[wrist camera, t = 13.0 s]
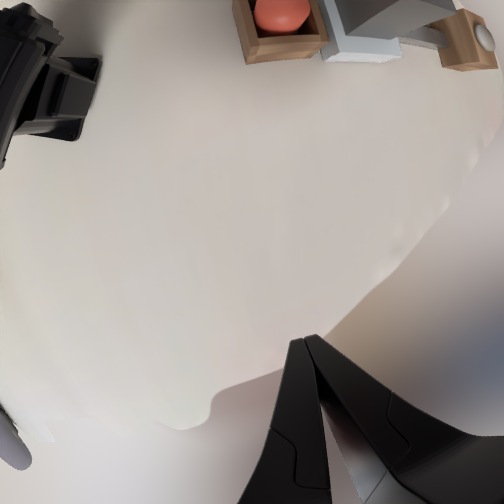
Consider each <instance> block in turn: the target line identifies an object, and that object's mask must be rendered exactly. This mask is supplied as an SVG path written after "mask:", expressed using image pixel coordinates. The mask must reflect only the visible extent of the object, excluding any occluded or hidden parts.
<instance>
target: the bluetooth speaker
mask: <svg viewBox="0 0 504 504" xmlns="http://www.w3.org/2000/svg"><path fill="white" fill-rule="evenodd" d="M0 457H1V458H2V459H3V460H4V461H6V462H7V463H8V464H9V465H11V466H12V467H14V468H15V469H17V470H25V469H27V468H28V467H29V466H30V465H31V463H32V457H31V453H30V452H29V450H28V448H27V447H26V445H25V444H24V443H23V441H22V440H21V439H20V437H19V436H18V430H17V429H16V427H15V426H14V424H13V423H12V422H11V421H10V419H9V418H8V417H7V415H6V414H5V413H4V412H3V410H1V409H0Z"/></svg>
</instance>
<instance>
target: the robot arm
mask: <svg viewBox="0 0 504 504" xmlns="http://www.w3.org/2000/svg"><path fill="white" fill-rule="evenodd" d="M58 32H59V31H58V30H56V29H55V28H53V21H51V20H49V19H48V18H46V17H44V16H42V15H40V14H39V13H38V12H37V11H36V10H35V9H34V8H33V7H32V6H31V5H29V4H27V3H23V2H22V3H20V4H18V5H16V6H14V7H12V8H10V9H8V8H3V9H2V11H1V10H0V170H1V169H2V168H3V167H4V164H5V161H6V159H5V156H6V153H7V150H8V147H9V144H10V141H11V138H12V136H15V135H24V134H28V135H35V136H41V137H48V138H54V139H60V140H65V141H77V140H78V139H79V137H80V134H81V130H82V126H83V122H84V118H85V117H86V115H87V112H88V109H89V105H90V102H91V99H92V95H93V92H94V89H95V86H96V84H95V82H96V79H97V76H98V73H99V70H100V68H101V64H102V63H101V61H100V60H99V59H97V58H75V57H58V58H57V57H54V56H51V55H52V53H53V51H54V50H55V48H56V47H57V45H59V44H60V43H61V41H62V40H63V38H64V37H62V36H60V35H58ZM94 63H96V66H95V67H93V64H94ZM73 132H75V137H74V138H73V136H72V134H73ZM391 392H392V391H391V390H390V389H389V388H387V387H386V386H385V385H383V384H382V383H381V382H379V381H378V380H377V379H375V378H374V377H373V376H371V375H370V374H369V373H367V372H366V371H365V370H363V369H362V368H361V367H359V366H358V365H357V364H355V363H354V362H352V361H351V360H350V359H349V358H347V357H346V356H345V355H343V354H342V353H341V352H339V351H338V350H337V349H335V348H334V347H333V346H332V345H330V344H329V343H328V342H326V341H325V340H324V339H322V338H321V337H320V336H318V335H317V334H314V335H310V336H306V337H304V339H303V338H298V339H295V340H291V341H290V343H289V348H288V353H287V357H286V361H285V366H284V370H283V374H282V379H281V383H280V387H279V391H278V395H277V399H276V403H275V408H274V411H273V415H272V419H271V423H270V427H269V428H270V429H269V430H268V433H267V437H266V440H265V443H264V447H263V450H262V452H261V455H260V458H259V460H258V462H257V465H256V467H255V470H254V472H253V474H252V476H251V478H250V480H249V482H248V484H247V486H246V488H245V489H244V491H243V493H242V495H241V497H240V499H239V501H238V503H237V504H332V498H331V497H332V496H331V485H330V476H329V467H328V458H327V449H326V441H325V433H324V426H323V419H322V412H321V409H322V411H323V413H324V416H325V418H326V420H327V423H328V425H329V427H330V430H331V432H332V434H333V437H334V439H335V441H336V443H337V446H338V448H339V451H340V453H341V455H342V458H343V460H344V462H345V464H346V467H347V469H348V471H349V474H350V476H351V478H352V481H353V483H354V485H355V488H356V490H357V492H358V495H359V497H360V499H361V502H362V504H504V436H476V435H471V434H468V433H465V432H463V431H461V430H459V429H456V428H455V427H452V426H450V425H448V424H446V423H444V422H442V421H440V420H439V419H436V418H435V417H433V416H431V415H429V414H427V413H425V412H423V411H422V410H420V409H418V408H416V407H415V406H413V405H412V404H410V403H409V402H407V401H406V400H404V399H403V398H401V397H400V396H399V395H397V394H396V393H395V392H392V393H391Z"/></svg>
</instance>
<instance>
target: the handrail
mask: <svg viewBox="0 0 504 504" xmlns="http://www.w3.org/2000/svg"><path fill="white" fill-rule="evenodd" d="M321 15H322V13H321ZM322 19H323V16H322ZM323 22H324V19H323ZM324 25H325V22H324ZM325 28H326V26H325ZM326 32H327V29H326ZM327 35H328V32H327ZM328 37H329V36H328ZM398 40H399V43H403V44H409V45H415V46H420V47H425V48H430V49H434V50H442V49H446V48H449V46H448V42H447V39H446V36H445V32H442V31H439V30H435V29H432V28H428V27H424V26H422V27H419V28H417V29H414V30H412V31H409V32H407V33H405V34H402V35H400V36H398Z"/></svg>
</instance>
